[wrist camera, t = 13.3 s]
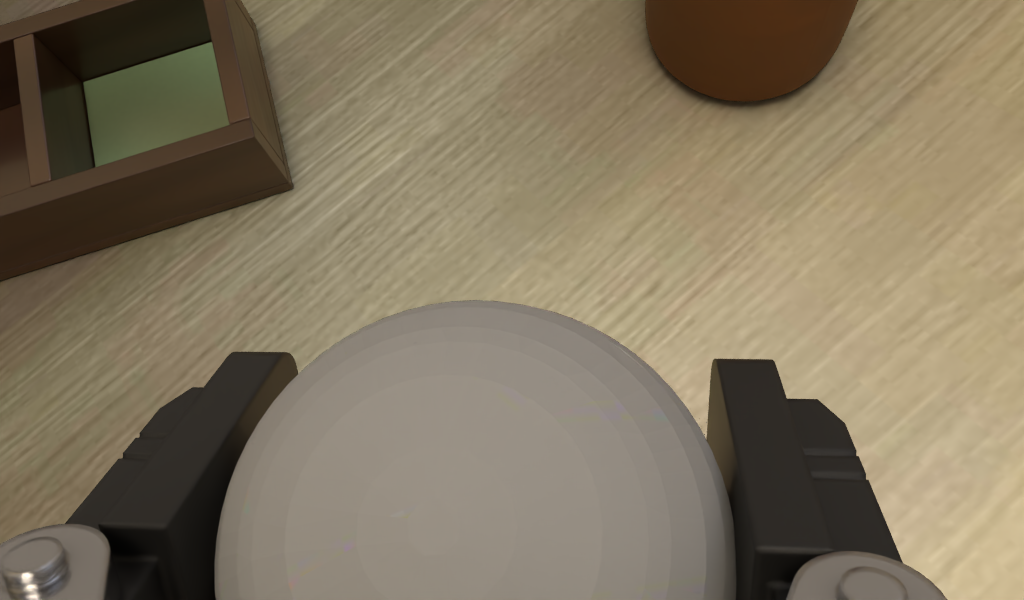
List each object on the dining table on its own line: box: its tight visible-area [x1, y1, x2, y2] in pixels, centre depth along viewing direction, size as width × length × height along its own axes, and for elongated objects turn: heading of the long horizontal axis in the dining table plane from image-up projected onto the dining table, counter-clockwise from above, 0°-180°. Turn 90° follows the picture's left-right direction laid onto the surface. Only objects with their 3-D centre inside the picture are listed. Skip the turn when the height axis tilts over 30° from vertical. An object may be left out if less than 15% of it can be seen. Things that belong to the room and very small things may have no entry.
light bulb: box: [214, 300, 736, 600], centre depth 12 cm, size 6×6×10 cm
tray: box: [0, 0, 293, 281], centre depth 34 cm, size 8×15×4 cm, turn 107°
